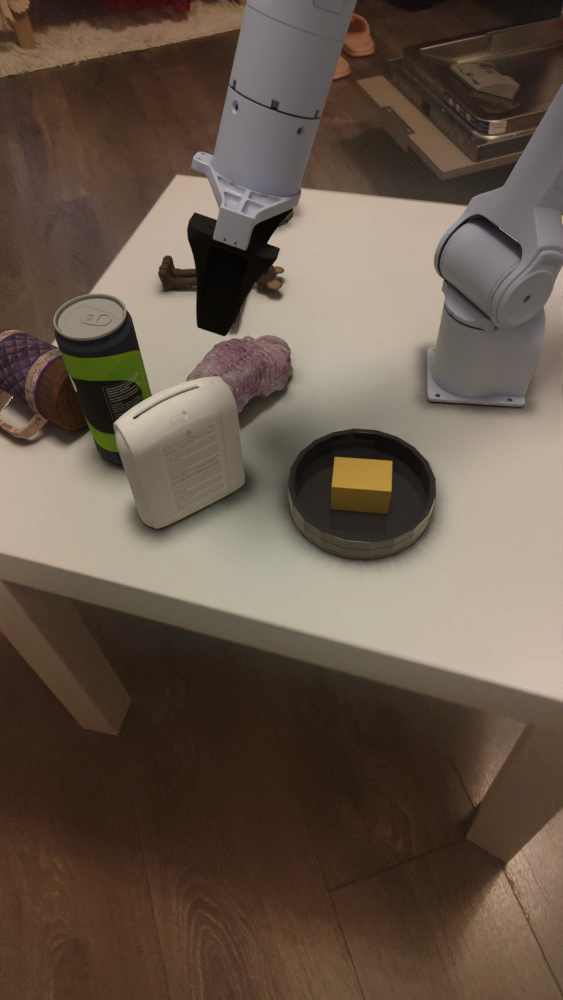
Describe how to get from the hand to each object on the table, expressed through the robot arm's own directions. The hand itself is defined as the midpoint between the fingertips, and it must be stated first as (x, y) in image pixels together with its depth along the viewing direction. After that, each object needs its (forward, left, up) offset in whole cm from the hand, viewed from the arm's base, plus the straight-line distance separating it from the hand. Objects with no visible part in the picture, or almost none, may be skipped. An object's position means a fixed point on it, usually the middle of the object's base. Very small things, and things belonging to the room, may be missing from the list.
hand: (222, 305), depth 48 cm
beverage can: (+11, -2, -18) cm, 21 cm away
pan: (-11, +3, -18) cm, 21 cm away
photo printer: (+4, +4, -18) cm, 19 cm away
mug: (+16, -2, -15) cm, 22 cm away
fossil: (+2, -10, -18) cm, 21 cm away
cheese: (-11, +3, -17) cm, 21 cm away
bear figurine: (+7, -28, -18) cm, 34 cm away
